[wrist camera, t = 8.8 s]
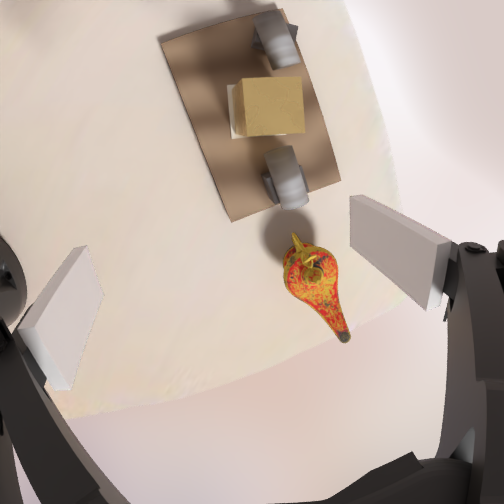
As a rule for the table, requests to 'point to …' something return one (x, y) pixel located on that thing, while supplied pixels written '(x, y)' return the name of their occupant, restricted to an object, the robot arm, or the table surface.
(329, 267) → the magic lamp
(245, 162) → the shaft bench
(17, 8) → the table surface
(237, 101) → the block
